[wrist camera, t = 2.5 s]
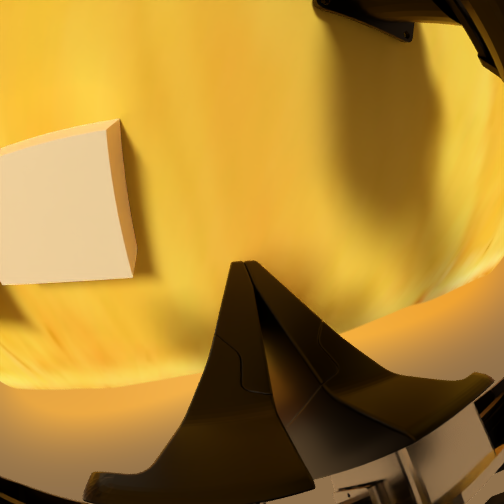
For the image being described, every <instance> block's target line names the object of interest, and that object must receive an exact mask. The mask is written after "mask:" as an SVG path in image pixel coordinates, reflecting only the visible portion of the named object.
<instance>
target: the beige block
mask: <svg viewBox="0 0 504 504" xmlns="http://www.w3.org/2000/svg"><path fill="white" fill-rule="evenodd" d="M137 250H138V248H137V243H136V238H135V233H134V228H133V223H132V217H131V211H130V205H129V199H128V193H127V186H126V178H125V170H124V162H123V152H122V142H121V129H120V119H114V120H108V121H102V122H96V123H91V124H86V125H81V126H76V127H71V128H67V129H63V130H59V131H55V132H51V133H47V134H43V135H40V136H36V137H33V138H30V139H26V140H23V141H20V142H17V143H14V144H11V145H8V146H5V147H3V148H0V282H1V284H2V285H17V284H38V283H56V282H74V281H90V280H106V279H121V278H133V274H134V268H135V262H136V256H137Z"/></svg>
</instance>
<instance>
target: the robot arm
mask: <svg viewBox="0 0 504 504" xmlns="http://www.w3.org/2000/svg"><path fill="white" fill-rule="evenodd" d="M325 1H326V5H324V4H323V3H322V2H321V0H313V3H314V5H315V6H316V7H317V8H319V9H321V10H324V11H328V12H331V13H334V14H337V15H340V16H343V17H346V18H349V19H351V20H354V21H357V22H359V23H362V24H364V25H367V26H369V27H372V28H374V29H376V30H379V31H381V32H383V33H385V34H387V35H389V36H392V37H394V38H396V39H398V40H400V41H402V42H411V41H412V38H413V29H414V22H420V23H439V24H451V25H459V26H463V28H464V29H465V31H466V33H467V34H468V36H469V38H470V39H471V41H472V43H473V45H474V47H475V49H476V50H477V52H478V58H479V60H480V62H481V64H482V65H483V66H484V67H485V68H487V69H488V70H490V71H491V72H493V73H494V74H496V75H497V76H498V77H500V78H501V79H502V81H503V82H504V0H325ZM404 33H405V36H404ZM494 381H495V380H494V379H492V377H490V376H488V375H486V374H482V373H477V372H474V373H472V374H471V375H469V376H468V377H467V378H465V379H462V380H456V381H447V380H437V379H428V378H420V377H412V376H404V375H399V374H396V373H393V372H390V371H389V370H387V369H385V368H383V367H382V366H380V365H379V364H377V363H376V362H375V361H373V360H372V359H370V358H369V357H368V356H366V355H365V354H364V353H362V352H361V351H359V350H358V349H357V348H355V347H354V346H353V345H351V344H350V343H349V342H347V341H346V340H345V339H343V338H342V337H341V336H340V335H339V334H337V333H336V332H335V331H334V330H333V329H332V328H330V327H329V326H328V325H327V324H326V323H325V322H322V320H321V319H320V318H319V317H318V316H317V315H316V314H315V313H314V312H312V311H311V310H310V309H309V308H308V307H307V306H306V305H305V304H304V303H302V302H301V301H300V300H299V299H298V298H297V297H296V296H295V295H294V294H292V293H291V292H290V291H289V290H288V289H287V288H286V287H285V286H284V285H282V284H281V283H280V282H279V281H278V280H277V279H276V278H275V277H274V276H272V275H271V274H270V273H269V272H268V271H267V270H266V269H265V268H264V267H263V266H261V265H260V264H259V263H258V262H257V261H254V260H253V261H245V262H242V261H236V262H232V263H231V265H230V269H229V274H228V278H227V282H226V286H225V290H224V295H223V299H222V303H221V307H220V312H219V316H218V320H217V325H216V329H215V333H214V337H213V341H212V346H211V350H210V353H209V357H208V360H207V363H206V366H205V369H204V371H203V374H202V377H201V379H200V382H199V384H198V386H197V389H196V392H195V394H194V396H193V399H192V401H191V404H190V406H189V408H188V411H187V413H186V415H185V417H184V419H183V421H182V423H181V425H180V426H179V428H178V429H177V431H176V432H175V434H174V435H173V436H172V438H171V439H170V441H169V442H168V444H167V445H166V446H165V448H164V449H163V451H162V452H161V454H160V455H159V456H158V458H157V459H156V460H155V462H154V463H153V464H152V465H151V466H150V467H149V468H148V469H147V470H145V471H143V472H140V473H137V474H121V473H111V472H93V473H92V474H91V476H90V478H89V480H88V482H87V485H86V488H85V490H84V494H83V500H84V501H86V502H89V503H93V504H266V502H268V501H272V500H276V499H281V498H285V497H288V496H292V495H296V494H300V493H303V492H306V491H310V490H313V489H315V484H314V481H313V480H314V479H319V478H323V477H326V476H330V477H331V480H332V483H333V486H334V489H335V492H334V493H333V497H334V500H335V503H336V504H466V503H467V502H468V501H469V500H470V499H471V498H472V497H473V496H474V495H475V494H476V493H477V492H478V491H479V490H480V489H481V488H482V487H483V486H484V485H485V484H486V483H487V482H488V480H489V479H490V478H491V477H492V476H493V475H494V474H495V473H497V472H500V471H502V470H504V377H503V378H502V379H501V380H500V381H499V382H498V383H497V384H495V385H494V386H493V387H492V388H490V389H489V390H488V391H487V392H486V393H484V394H483V395H482V396H480V395H481V394H482V393H483V392H484V391H485V390H486V389H487V388H488V387H490V386H491V384H493V383H494ZM478 396H480V397H479V398H478V399H476V398H477V397H478ZM475 399H476V400H475ZM474 400H475V401H474ZM473 401H474V402H473ZM0 504H88V503H84V502H80V501H76V500H71V499H68V498H64V497H60V496H57V495H53V494H50V493H47V492H44V491H41V490H38V489H35V488H32V487H29V486H27V485H24V484H21V483H18V482H15V481H13V480H10V479H7V478H4V477H2V476H0ZM485 504H504V492H503V493H500V494H497V495H495V496H492V497H491V498H490V499H489V500H488V501H487V502H486V503H485Z"/></svg>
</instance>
